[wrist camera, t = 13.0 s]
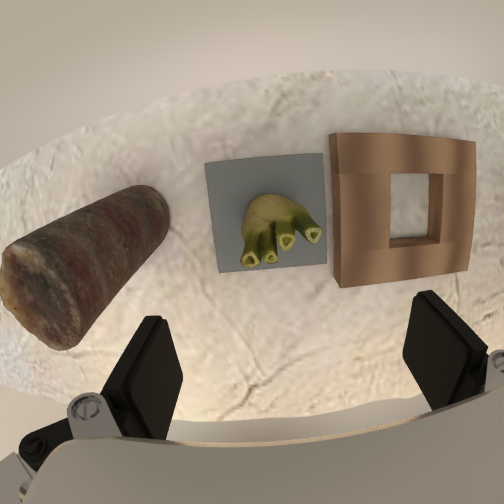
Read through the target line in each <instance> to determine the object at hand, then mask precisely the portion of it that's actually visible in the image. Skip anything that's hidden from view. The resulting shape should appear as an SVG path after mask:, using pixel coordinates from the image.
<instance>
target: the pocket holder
mask: <svg viewBox="0 0 504 504" xmlns="http://www.w3.org/2000/svg"><path fill="white" fill-rule="evenodd" d="M329 142H330V155H331V170H332V189H333V216H334V278H335V280H336V281H337V283H338V285H339V287H340V288H347V287H355V286H364V285H372V284H379V283H387V282H395V281H402V280H409V279H416V278H423V277H429V276H436V275H442V274H449V273H455V272H461V271H467V270H468V265H469V259H470V252H471V245H472V236H473V227H474V216H475V201H476V142H473V141H465V140H458V139H449V138H440V137H430V136H418V135H404V134H383V133H334V134H329ZM390 173H430V192H429V220H428V235H427V236H423V237H411V238H399V239H390Z"/></svg>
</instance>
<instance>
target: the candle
mask: <svg viewBox="0 0 504 504" xmlns="http://www.w3.org/2000/svg"><path fill="white" fill-rule="evenodd" d="M168 227H169V215H168V209H167V206H166V204H165V202H164V201H163V199H162V198H161V197H160V195H159V194H158V193H157V192H156V191H155V190H154V189H153V188H151V187H148V186H144V185H138V186H132V187H129V188H126V189H124V190H121V191H119V192H116V193H114V194H112V195H110V196H107V197H105V198H103V199H101V200H98V201H96V202H94V203H92V204H90V205H87V206H85V207H83V208H81V209H78V210H76V211H74V212H72V213H70V214H68V215H66V216H64V217H61V218H59V219H57V220H55V221H53V222H51V223H49V224H47V225H45V226H43V227H41V228H39V229H37V230H35V231H33V232H31V233H29V234H28V235H26V236H24V237H22V238H20V239H18V240H16V241H14V242H13V243H12V244H10V245H9V246H7V247H6V248H5V250H4V252H3V253H2V266H1V270H0V296H1V298H2V301H3V305H4V306H5V308H6V309H7V310H9V311H10V312H11V313H12V314H13V315H14V316H15V318H16V319H17V320H18V321H19V323H20V324H21V325H22V326H23V327H24V328H25V329H26V330H27V331H28V332H30V333H32V334H34V335H35V336H36V337H37V338H38V339H39V340H40V341H42V342H43V343H45V344H46V345H47V346H48V347H49V348H52V349H54V350H57V351H62V350H68V349H71V348H72V347H75V346H76V345H78V343H79V342H80V341H81V340H82V338H83V337H84V336H85V334H86V333H87V332H88V330H89V329H90V328H91V326H92V325H93V323H94V322H95V321H96V319H97V318H98V317H99V316H100V315H101V313H102V312H103V311H104V310H105V308H106V307H107V306H108V305H109V303H110V302H111V301H112V299H113V298H114V297H115V296H116V294H117V293H118V292H119V291H120V289H121V288H122V287H123V286H124V285H125V284H126V283H127V281H128V280H129V279H130V278H131V277H132V276H133V275H134V273H135V272H136V271H137V270H138V269H139V268H140V267H141V265H142V264H143V263H144V262H145V261H146V260H147V259H148V258H149V256H150V255H151V254H152V253H153V252H154V251H155V250H156V248H157V247H158V246H159V245H160V244H161V243H162V241H163V240H164V238H165V236H166V234H167V231H168Z"/></svg>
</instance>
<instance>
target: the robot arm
mask: <svg viewBox="0 0 504 504" xmlns="http://www.w3.org/2000/svg"><path fill="white" fill-rule="evenodd" d="M487 349H488V346H487V345H486V344H485V343H484V342H483V341H482V340H481V339H480V338H479V337H478V335H477V334H476V333H475V332H474V331H473V330H472V329H471V328H470V327H469V326H468V325H467V324H466V323H465V322H464V321H463V320H462V319H461V318H460V317H459V316H458V315H457V314H456V313H455V312H454V311H453V310H452V309H451V308H450V307H449V306H448V305H447V304H446V303H445V302H444V301H443V300H442V299H441V298H440V297H439V296H438V295H437V294H436V293H435V292H434V291H432V290H427V291H421V292H418V293H417V295H416V296H415V297H414V298H413V301H412V307H411V313H410V319H409V324H408V329H407V334H406V338H405V343H404V347H403V359H404V361H405V363H406V364H407V366H408V368H409V370H410V371H411V373H412V375H413V377H414V378H415V380H416V382H417V384H418V385H419V387H420V389H421V391H422V392H423V394H424V396H425V398H426V400H427V402H428V403H429V405H430V407H431V409H432V411H431V412H428V413H424V414H421V415H418V416H414V417H411V418H407V419H404V420H400V421H396V422H393V423H389V424H384V425H380V426H376V427H371V428H366V429H362V430H357V431H351V432H346V433H340V434H334V435H327V436H320V437H313V438H305V439H296V440H284V441H270V442H252V443H251V442H250V443H206V442H184V441H183V442H182V441H169V440H166V437H167V433H168V430H169V426H170V423H171V419H172V416H173V412H174V409H175V406H176V402H177V399H178V395H179V392H180V389H181V385H182V382H183V373H182V370H181V367H180V363H179V360H178V357H177V354H176V350H175V347H174V343H173V340H172V337H171V333H170V329H169V326H168V322H167V320H166V319H163V318H162V317H161V316H145V318H144V319H143V321H142V322H141V324H140V326H139V327H138V329H137V331H136V332H135V334H134V335H133V337H132V339H131V340H130V342H129V344H128V345H127V347H126V349H125V350H124V352H123V354H122V355H121V357H120V359H119V361H118V362H117V364H116V366H115V367H114V369H113V371H112V373H111V374H110V376H109V378H108V380H107V381H106V383H105V385H104V387H103V389H102V391H101V393H100V394H98V393H94V392H91V393H84V394H81V395H79V396H77V397H76V398H74V399H73V400H72V401H71V402H70V404H69V405H68V408H67V416H68V417H67V418H65V419H63V420H60V421H58V422H56V423H53V424H51V425H49V426H46V427H44V428H41V429H39V430H36V431H34V432H31V433H29V434H28V435H26V436H25V437H24V438H23V439H22V441H21V442H20V445H19V453H18V454H16V453H15V452H13V453H11V454H10V455H9V456H7V457H6V458H4V459H3V460H2V461H0V504H504V350H495V351H493V352H491V354H490V355H488V354H487V353H486V352H487Z"/></svg>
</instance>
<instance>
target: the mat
mask: <svg viewBox="0 0 504 504" xmlns="http://www.w3.org/2000/svg"><path fill="white" fill-rule="evenodd" d="M205 171H206V180H207V188H208V196H209V204H210V211H211V219H212V227H213V234H214V241H215V248H216V255H217V262H218V269H219V273H224V272H237V271H249V270H261V269H273V268H284V267H295V266H306V265H317V264H327V242H326V207H325V186H324V169H323V155H322V153H320V154H299V155H283V156H270V157H258V158H247V159H237V160H228V161H220V162H212V163H205ZM262 194H276V195H279V196H283V197H285V198H288V199H290V200H292V201H294V202H295V203H298V204H300V205H302V206H304V207H305V208H306V209H307V210H308V211H309V214H310V216H311V217H312V219H313V220H314V221H315V222H316V223H317V224H318V225H319V226H320V227H321V228H322V233H323V234H322V236H321V238H320V239H319V241H318V242H317V243H315V244H310V243H309V242H308V241H307V240H306V239H305V238H304V237H303V236H302V235H301V234H300V233H299V231H296V233H295V236H296V240H295V243H294V244H293V246H292V247H291V249H290V250H287V251H282V250H281V248H280V245H279V244H277V252H278V258H279V261H278V262H276V263H273V264H268V263H265V262H264V260H263V256H262V260H261V264H260V265H258V266H257V267H252V268H247V267H243V265H242V264H241V263H240V258H241V256H242V253H243V250H244V246H245V244H244V241H243V239H242V236H241V226H242V222H243V219H244V217H245V215H246V211H247V206H248V204H249V202H250V201H251V200H252V199H254V198H255V197H256V196H259V195H262Z"/></svg>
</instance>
